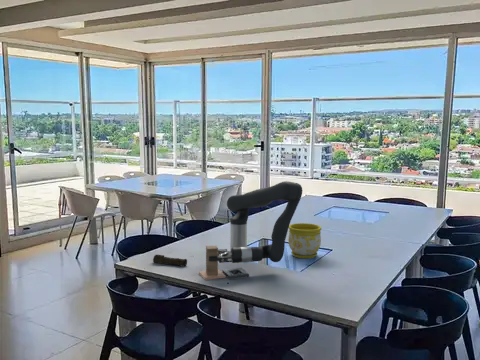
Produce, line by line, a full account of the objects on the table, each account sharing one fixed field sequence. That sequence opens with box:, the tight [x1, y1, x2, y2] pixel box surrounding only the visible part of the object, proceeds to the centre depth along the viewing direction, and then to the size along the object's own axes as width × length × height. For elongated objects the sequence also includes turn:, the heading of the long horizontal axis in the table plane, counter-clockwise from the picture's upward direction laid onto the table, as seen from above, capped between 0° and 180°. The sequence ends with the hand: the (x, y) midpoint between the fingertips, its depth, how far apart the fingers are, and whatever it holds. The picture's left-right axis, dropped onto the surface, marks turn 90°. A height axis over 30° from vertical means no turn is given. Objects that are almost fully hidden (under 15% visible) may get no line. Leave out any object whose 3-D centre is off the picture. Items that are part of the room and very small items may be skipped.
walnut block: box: [205, 245, 219, 275], centre depth 217 cm, size 5×5×13 cm
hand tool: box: [152, 254, 188, 268], centre depth 235 cm, size 19×4×5 cm, turn 68°
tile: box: [198, 268, 226, 281], centre depth 218 cm, size 10×10×1 cm
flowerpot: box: [287, 222, 322, 259], centre depth 252 cm, size 18×18×16 cm
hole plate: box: [221, 267, 250, 280], centre depth 219 cm, size 10×10×2 cm
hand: (207, 256), depth 216 cm, fingers open, 8 cm apart
